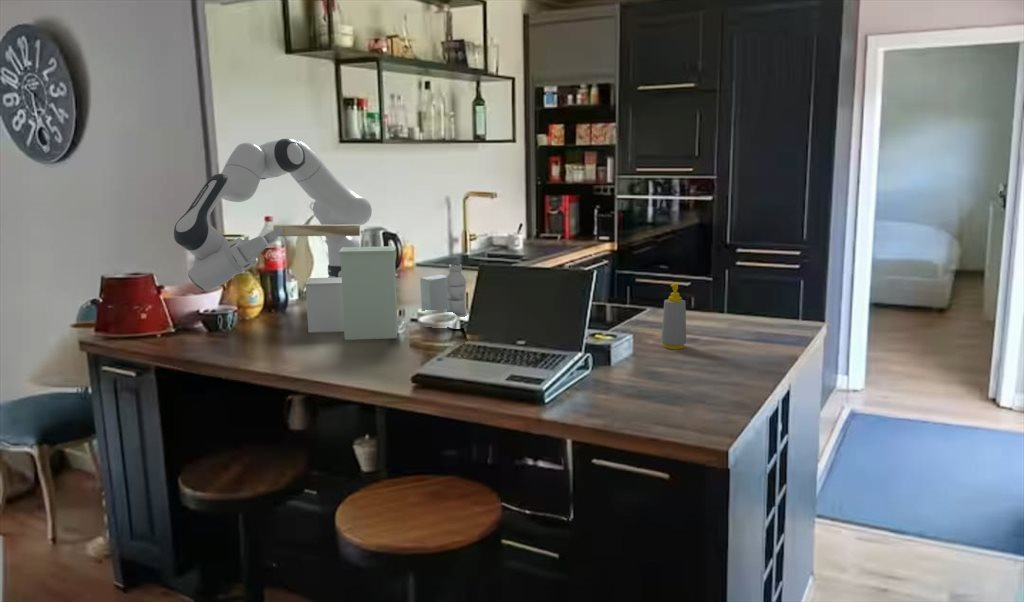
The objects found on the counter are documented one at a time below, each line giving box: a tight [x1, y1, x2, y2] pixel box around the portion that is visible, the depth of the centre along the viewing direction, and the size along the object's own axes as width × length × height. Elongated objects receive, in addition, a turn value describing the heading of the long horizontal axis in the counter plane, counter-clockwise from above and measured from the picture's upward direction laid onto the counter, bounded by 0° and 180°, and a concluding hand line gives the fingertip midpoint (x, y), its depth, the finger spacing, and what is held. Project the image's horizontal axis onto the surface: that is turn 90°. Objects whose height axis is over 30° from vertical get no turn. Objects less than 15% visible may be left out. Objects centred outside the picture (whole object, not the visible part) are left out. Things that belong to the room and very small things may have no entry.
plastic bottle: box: [445, 263, 468, 317], centre depth 244 cm, size 6×7×20 cm
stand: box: [339, 245, 399, 341], centre depth 236 cm, size 10×16×26 cm, turn 96°
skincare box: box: [419, 273, 448, 312], centre depth 254 cm, size 8×6×15 cm
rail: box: [272, 224, 361, 237], centre depth 230 cm, size 3×24×3 cm, turn 97°
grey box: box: [304, 277, 344, 334], centre depth 247 cm, size 10×12×15 cm
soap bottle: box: [660, 281, 687, 350], centre depth 220 cm, size 7×7×18 cm
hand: (284, 228), depth 229 cm, fingers closed on rail, 3 cm apart
